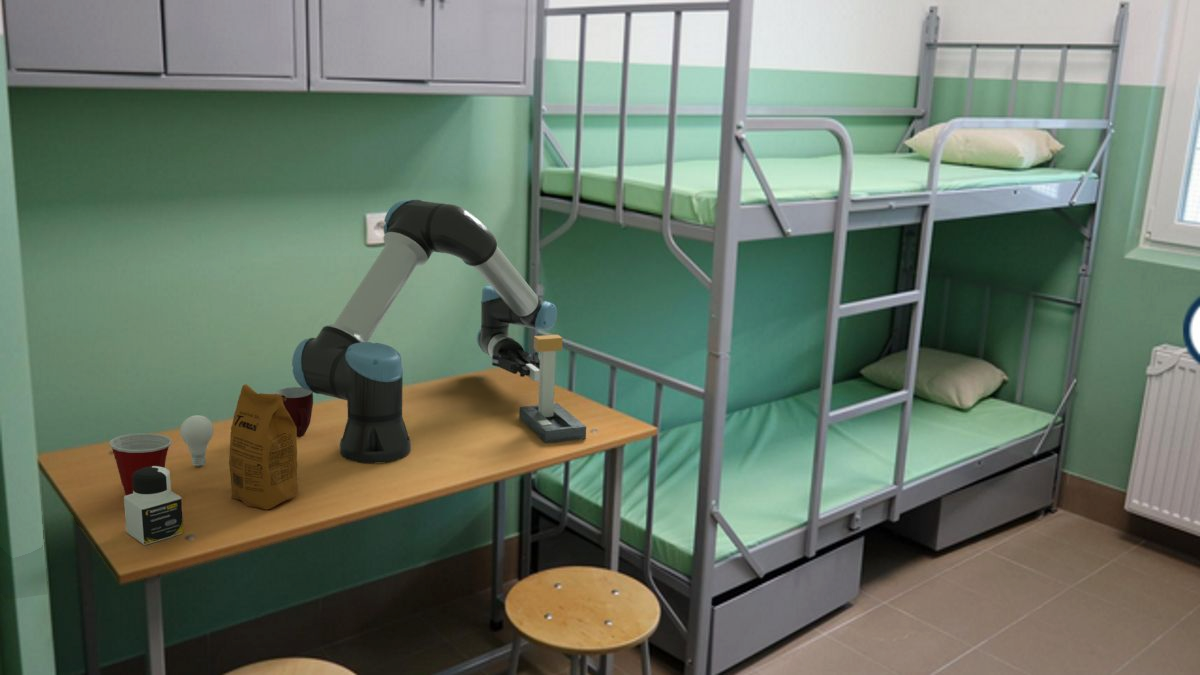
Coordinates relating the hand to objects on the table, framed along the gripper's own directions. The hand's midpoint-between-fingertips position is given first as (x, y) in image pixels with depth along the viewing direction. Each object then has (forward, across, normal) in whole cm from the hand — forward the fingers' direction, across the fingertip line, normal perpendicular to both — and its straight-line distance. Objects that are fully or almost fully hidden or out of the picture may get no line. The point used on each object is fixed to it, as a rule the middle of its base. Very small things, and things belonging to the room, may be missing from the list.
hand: (537, 376), depth 249 cm
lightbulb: (+11, +78, -10) cm, 80 cm away
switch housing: (+10, 0, -10) cm, 14 cm away
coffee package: (+31, +68, -10) cm, 75 cm away
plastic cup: (+25, +89, -10) cm, 93 cm away
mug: (-2, +57, -10) cm, 58 cm away
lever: (+6, 0, -8) cm, 10 cm away
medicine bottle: (+41, +87, -10) cm, 97 cm away
